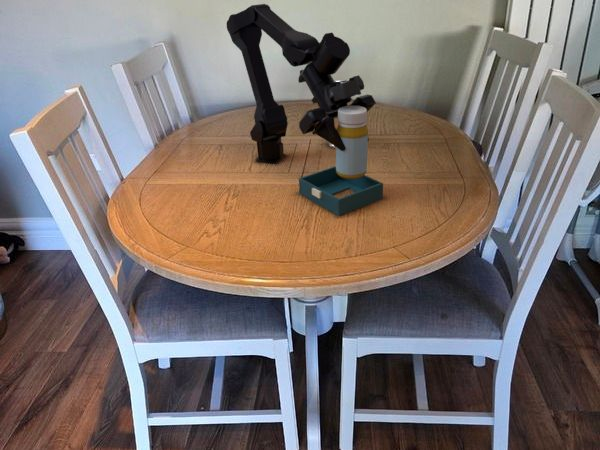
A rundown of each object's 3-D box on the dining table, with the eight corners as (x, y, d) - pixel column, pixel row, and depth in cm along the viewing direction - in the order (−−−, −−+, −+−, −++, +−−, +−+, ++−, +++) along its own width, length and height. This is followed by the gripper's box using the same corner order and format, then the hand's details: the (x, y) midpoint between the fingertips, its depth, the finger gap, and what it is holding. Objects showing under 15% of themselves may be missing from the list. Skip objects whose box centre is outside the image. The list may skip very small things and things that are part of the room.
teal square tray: (297, 194, 118) (296, 179, 116) (343, 177, 124) (343, 163, 123) (336, 217, 107) (336, 201, 105) (384, 198, 113) (385, 182, 111)
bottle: (365, 180, 108) (368, 115, 100) (334, 179, 109) (334, 114, 101) (367, 167, 114) (369, 105, 106) (337, 167, 115) (337, 104, 107)
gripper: (305, 72, 98) (341, 138, 95) (371, 57, 107) (405, 117, 105) (284, 103, 107) (317, 163, 105) (347, 87, 116) (378, 142, 114)
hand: (355, 146), depth 107 cm, fingers closed on bottle, 7 cm apart
